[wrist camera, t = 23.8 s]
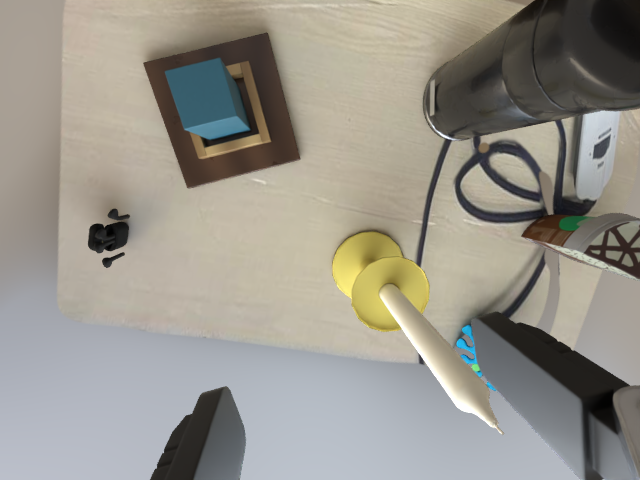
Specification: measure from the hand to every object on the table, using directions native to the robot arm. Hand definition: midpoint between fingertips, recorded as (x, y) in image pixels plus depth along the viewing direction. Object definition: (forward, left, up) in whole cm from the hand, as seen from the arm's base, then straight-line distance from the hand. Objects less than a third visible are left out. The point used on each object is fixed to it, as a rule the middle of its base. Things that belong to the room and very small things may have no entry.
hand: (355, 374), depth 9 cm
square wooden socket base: (+6, -15, -30) cm, 34 cm away
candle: (-6, +8, -30) cm, 32 cm away
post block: (+6, -15, -29) cm, 33 cm away
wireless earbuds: (+23, -5, -30) cm, 38 cm away
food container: (-34, +10, -30) cm, 47 cm away
